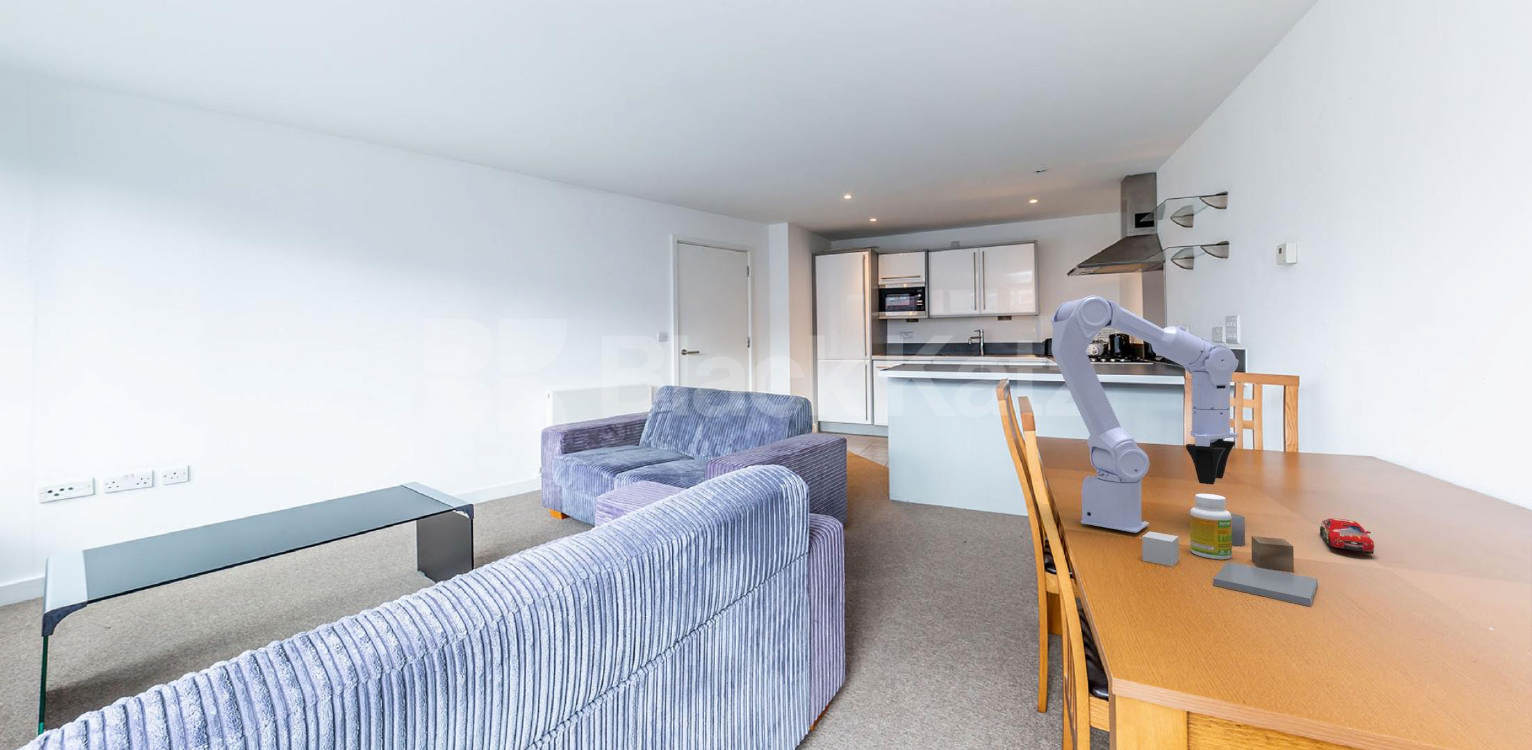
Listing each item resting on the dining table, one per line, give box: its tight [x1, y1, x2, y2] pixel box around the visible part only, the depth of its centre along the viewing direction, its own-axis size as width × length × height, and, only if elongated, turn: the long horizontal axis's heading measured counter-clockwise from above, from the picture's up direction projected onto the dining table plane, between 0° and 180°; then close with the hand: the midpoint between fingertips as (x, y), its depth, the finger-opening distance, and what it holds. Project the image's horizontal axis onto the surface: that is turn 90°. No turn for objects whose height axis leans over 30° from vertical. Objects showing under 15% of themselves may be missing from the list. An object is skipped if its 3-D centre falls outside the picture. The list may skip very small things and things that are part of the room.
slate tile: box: [1212, 561, 1319, 607], centre depth 81 cm, size 10×10×1 cm
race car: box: [1319, 518, 1375, 555], centre depth 96 cm, size 13×5×4 cm, turn 141°
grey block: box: [1141, 531, 1180, 567], centre depth 92 cm, size 4×4×4 cm
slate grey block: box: [1230, 513, 1246, 547], centre depth 99 cm, size 4×4×5 cm
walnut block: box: [1251, 535, 1295, 573], centre depth 88 cm, size 4×4×4 cm
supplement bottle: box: [1189, 493, 1233, 560], centre depth 94 cm, size 5×5×10 cm
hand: (1211, 480), depth 107 cm, fingers open, 7 cm apart
